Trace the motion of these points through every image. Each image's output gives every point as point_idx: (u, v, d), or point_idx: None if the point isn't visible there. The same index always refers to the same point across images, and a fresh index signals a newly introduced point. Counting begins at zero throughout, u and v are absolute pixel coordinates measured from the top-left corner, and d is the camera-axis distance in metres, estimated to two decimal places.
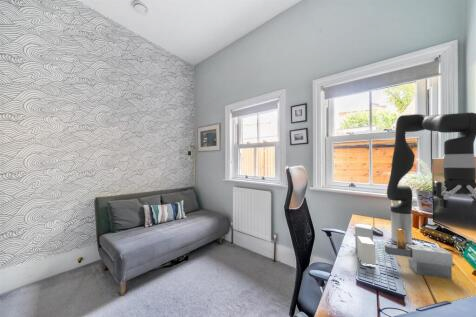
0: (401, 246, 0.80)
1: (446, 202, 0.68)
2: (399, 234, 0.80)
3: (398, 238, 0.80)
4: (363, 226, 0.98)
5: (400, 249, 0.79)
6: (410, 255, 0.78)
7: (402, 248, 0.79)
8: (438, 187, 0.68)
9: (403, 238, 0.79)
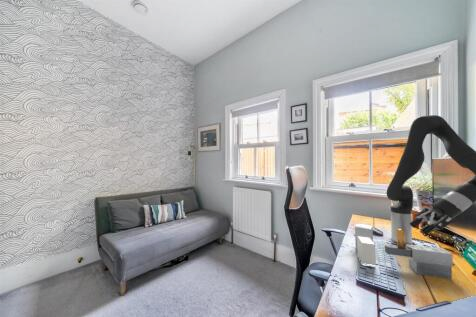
0: (401, 246, 0.80)
1: None
2: (399, 234, 0.80)
3: (398, 238, 0.80)
4: (363, 226, 0.98)
5: (400, 249, 0.79)
6: (410, 255, 0.78)
7: (402, 248, 0.79)
8: None
9: (403, 238, 0.79)
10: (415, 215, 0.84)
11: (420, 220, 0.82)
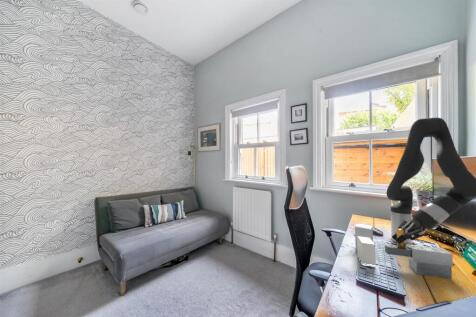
0: (401, 246, 0.80)
1: (404, 240, 0.79)
2: (399, 234, 0.80)
3: None
4: (363, 226, 0.98)
5: (400, 249, 0.79)
6: (410, 255, 0.78)
7: (402, 248, 0.79)
8: None
9: None
10: (398, 228, 0.84)
11: None
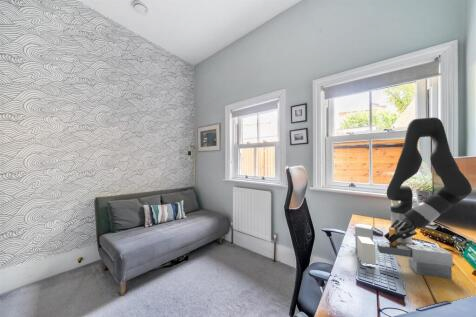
0: (393, 245, 0.81)
1: (396, 239, 0.80)
2: (391, 233, 0.81)
3: None
4: (363, 226, 0.97)
5: (392, 248, 0.80)
6: (402, 254, 0.79)
7: (394, 247, 0.80)
8: None
9: None
10: (390, 227, 0.85)
11: None
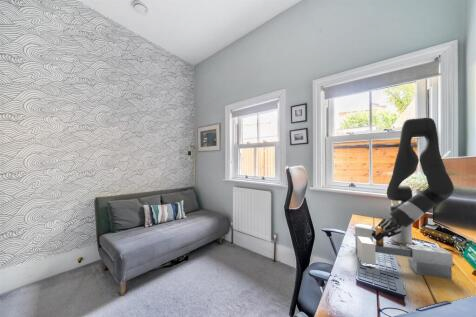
0: (379, 243, 0.82)
1: (382, 237, 0.82)
2: (377, 231, 0.83)
3: None
4: (363, 226, 0.98)
5: (378, 246, 0.82)
6: (387, 252, 0.81)
7: (380, 246, 0.82)
8: None
9: None
10: None
11: None
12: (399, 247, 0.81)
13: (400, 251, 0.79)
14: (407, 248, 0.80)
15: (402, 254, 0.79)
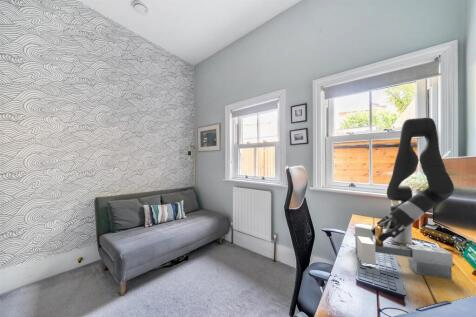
0: (379, 243, 0.82)
1: (387, 237, 0.79)
2: (377, 231, 0.83)
3: (376, 235, 0.83)
4: (363, 226, 0.98)
5: (378, 246, 0.82)
6: (387, 252, 0.81)
7: (380, 246, 0.82)
8: None
9: None
10: (377, 223, 0.89)
11: None
12: (399, 247, 0.81)
13: (400, 251, 0.79)
14: (407, 248, 0.80)
15: (402, 254, 0.79)
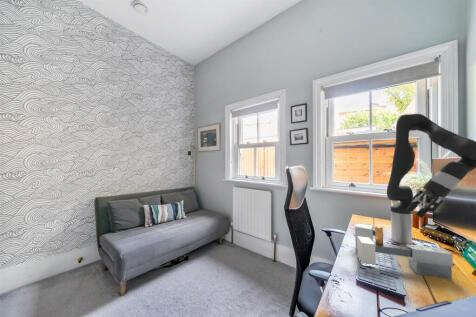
0: (379, 243, 0.82)
1: (425, 212, 0.77)
2: (377, 231, 0.83)
3: (376, 235, 0.83)
4: (363, 226, 0.97)
5: (378, 246, 0.82)
6: (387, 252, 0.81)
7: (380, 246, 0.82)
8: None
9: (381, 235, 0.82)
10: (412, 199, 0.87)
11: (417, 203, 0.85)
12: (399, 247, 0.81)
13: (400, 251, 0.79)
14: (407, 248, 0.80)
15: (402, 254, 0.79)
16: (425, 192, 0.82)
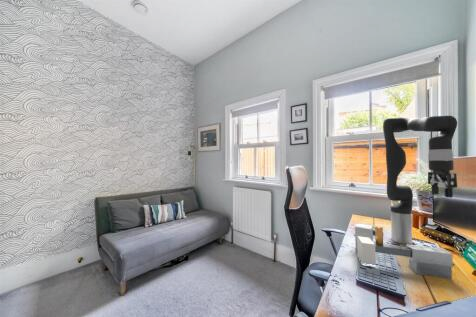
0: (379, 243, 0.82)
1: (451, 190, 0.77)
2: (377, 231, 0.83)
3: (376, 235, 0.83)
4: (363, 226, 0.98)
5: (378, 246, 0.82)
6: (387, 252, 0.81)
7: (380, 246, 0.82)
8: None
9: (381, 235, 0.82)
10: (428, 183, 0.88)
11: (436, 185, 0.85)
12: (399, 247, 0.81)
13: (400, 251, 0.79)
14: (407, 248, 0.80)
15: (402, 254, 0.79)
16: (434, 172, 0.84)
